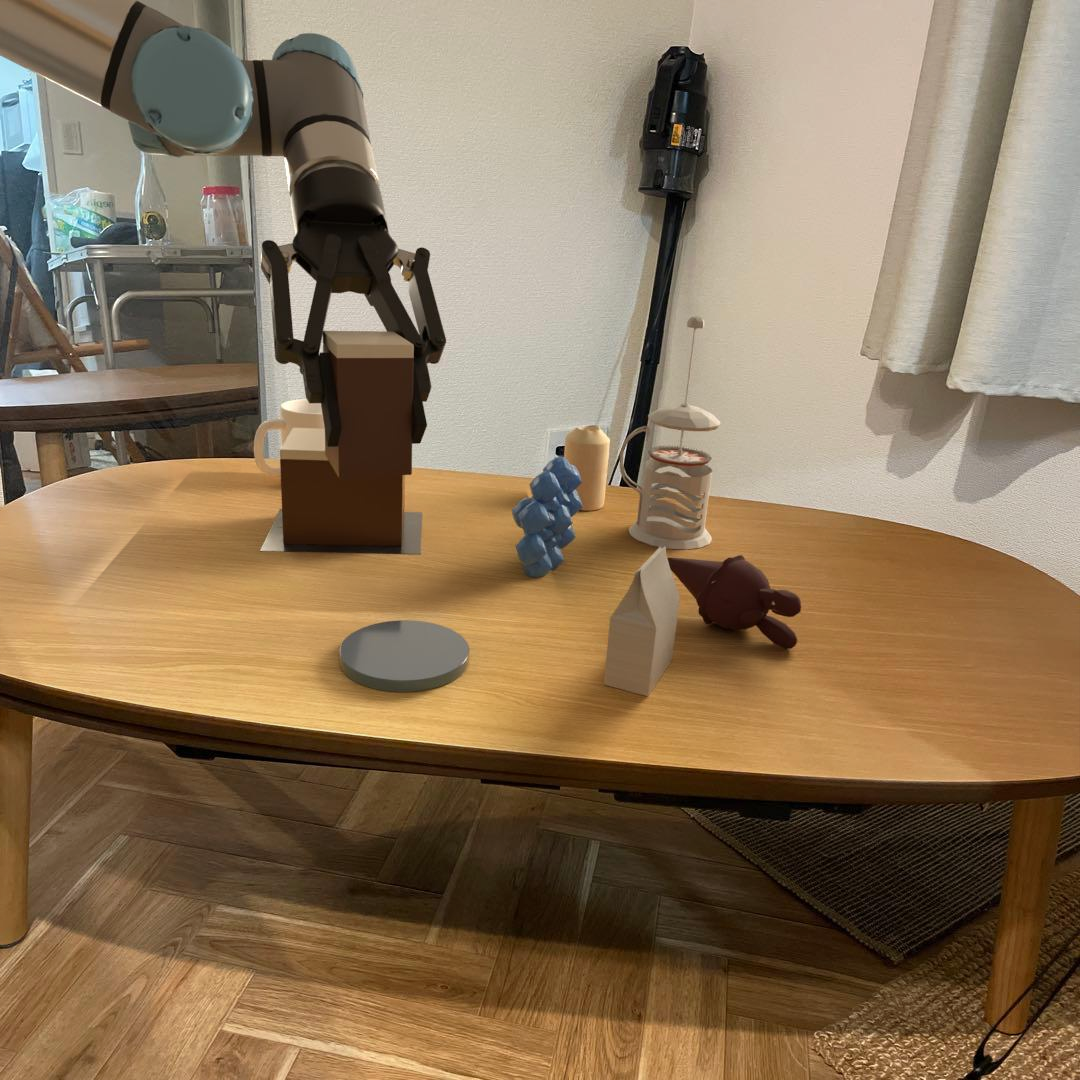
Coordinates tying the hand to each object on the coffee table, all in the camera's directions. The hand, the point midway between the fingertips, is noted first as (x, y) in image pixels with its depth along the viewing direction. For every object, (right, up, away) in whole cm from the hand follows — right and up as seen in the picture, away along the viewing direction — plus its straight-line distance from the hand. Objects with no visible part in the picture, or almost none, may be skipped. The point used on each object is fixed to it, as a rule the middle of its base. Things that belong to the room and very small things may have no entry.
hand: (377, 435), depth 67 cm
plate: (+1, -18, +6) cm, 19 cm away
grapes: (+12, -11, +25) cm, 30 cm away
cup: (-18, -1, +46) cm, 49 cm away
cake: (-9, -7, +30) cm, 32 cm away
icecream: (+29, -16, +16) cm, 37 cm away
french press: (+26, -7, +39) cm, 47 cm away
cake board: (-9, -8, +30) cm, 32 cm away
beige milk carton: (+20, -19, +7) cm, 28 cm away
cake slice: (-2, -2, +4) cm, 5 cm away
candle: (+17, -3, +47) cm, 50 cm away
